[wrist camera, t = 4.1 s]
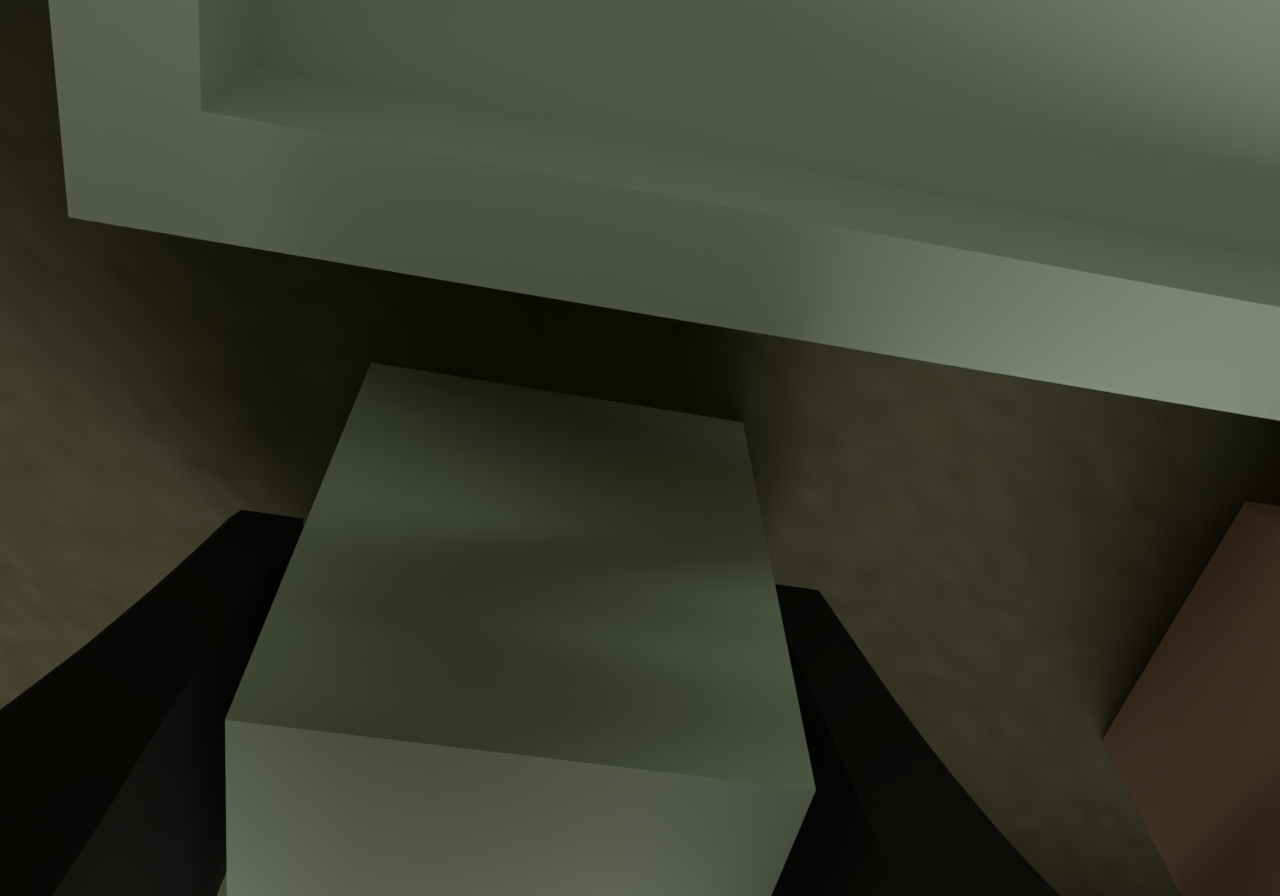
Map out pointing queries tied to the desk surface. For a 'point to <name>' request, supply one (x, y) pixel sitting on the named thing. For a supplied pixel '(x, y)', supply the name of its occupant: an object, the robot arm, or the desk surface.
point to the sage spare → (520, 661)
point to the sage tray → (734, 164)
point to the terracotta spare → (1214, 722)
